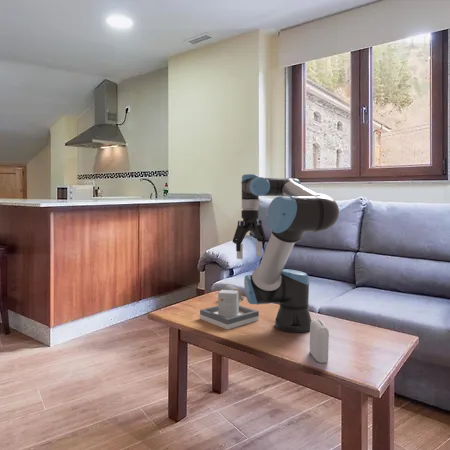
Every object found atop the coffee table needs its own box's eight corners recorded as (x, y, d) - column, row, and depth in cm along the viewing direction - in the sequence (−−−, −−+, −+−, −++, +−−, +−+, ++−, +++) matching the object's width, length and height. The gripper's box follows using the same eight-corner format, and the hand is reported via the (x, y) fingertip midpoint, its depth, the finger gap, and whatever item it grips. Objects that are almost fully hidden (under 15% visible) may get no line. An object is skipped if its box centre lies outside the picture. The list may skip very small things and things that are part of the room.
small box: (238, 314, 167) (239, 290, 167) (236, 318, 162) (236, 293, 161) (221, 312, 169) (221, 289, 169) (217, 316, 164) (217, 292, 163)
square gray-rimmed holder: (258, 320, 166) (258, 311, 165) (227, 329, 154) (227, 319, 153) (230, 310, 179) (230, 302, 179) (200, 318, 167) (200, 309, 167)
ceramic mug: (231, 303, 191) (231, 288, 191) (221, 300, 198) (221, 285, 197) (247, 300, 197) (247, 286, 197) (237, 297, 204) (238, 283, 204)
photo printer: (308, 350, 133) (308, 315, 132) (320, 350, 133) (321, 315, 132) (316, 363, 123) (317, 325, 122) (329, 363, 123) (330, 325, 122)
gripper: (260, 209, 181) (260, 253, 183) (224, 209, 163) (224, 259, 164) (273, 209, 176) (273, 255, 177) (237, 210, 158) (237, 261, 159)
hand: (249, 257), depth 171 cm, fingers open, 13 cm apart
